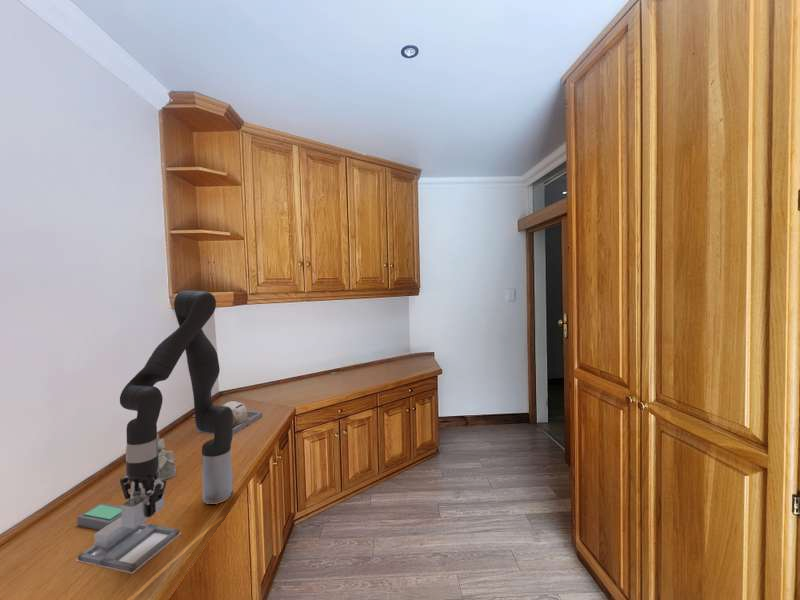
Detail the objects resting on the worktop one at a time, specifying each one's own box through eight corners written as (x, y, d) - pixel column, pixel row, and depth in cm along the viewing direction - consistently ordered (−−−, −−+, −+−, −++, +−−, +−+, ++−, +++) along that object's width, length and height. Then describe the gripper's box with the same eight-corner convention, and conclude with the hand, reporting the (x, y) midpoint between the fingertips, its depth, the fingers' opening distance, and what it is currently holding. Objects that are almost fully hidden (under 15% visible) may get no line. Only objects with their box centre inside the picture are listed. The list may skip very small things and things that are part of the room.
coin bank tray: (231, 413, 216) (231, 409, 216) (262, 416, 212) (262, 412, 211) (196, 432, 190) (196, 427, 190) (230, 436, 185) (230, 431, 185)
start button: (100, 509, 122) (100, 504, 121) (125, 513, 119) (125, 509, 119) (84, 518, 117) (84, 514, 117) (110, 523, 114) (110, 519, 114)
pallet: (130, 526, 117) (130, 519, 117) (181, 536, 113) (181, 529, 113) (76, 564, 102) (75, 556, 102) (132, 577, 98) (132, 569, 97)
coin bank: (215, 421, 205) (217, 397, 204) (248, 420, 210) (250, 397, 209) (209, 433, 190) (211, 407, 189) (245, 432, 195) (247, 407, 194)
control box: (101, 514, 123) (101, 502, 123) (132, 520, 120) (131, 508, 120) (77, 529, 116) (77, 516, 116) (109, 535, 113) (109, 523, 113)
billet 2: (121, 526, 101) (121, 505, 101) (152, 505, 111) (152, 485, 111) (134, 528, 100) (133, 507, 100) (164, 506, 110) (163, 487, 110)
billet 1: (128, 530, 114) (127, 511, 113) (139, 533, 113) (138, 513, 112) (95, 554, 104) (94, 533, 104) (106, 556, 103) (105, 536, 103)
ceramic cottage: (123, 473, 148) (124, 437, 147) (171, 462, 159) (172, 428, 158) (128, 493, 137) (130, 454, 136) (179, 479, 148) (181, 443, 147)
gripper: (174, 452, 107) (175, 510, 108) (134, 446, 110) (135, 503, 111) (151, 464, 100) (153, 526, 100) (109, 458, 103) (110, 518, 104)
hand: (143, 514), depth 106 cm, fingers closed on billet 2, 4 cm apart
